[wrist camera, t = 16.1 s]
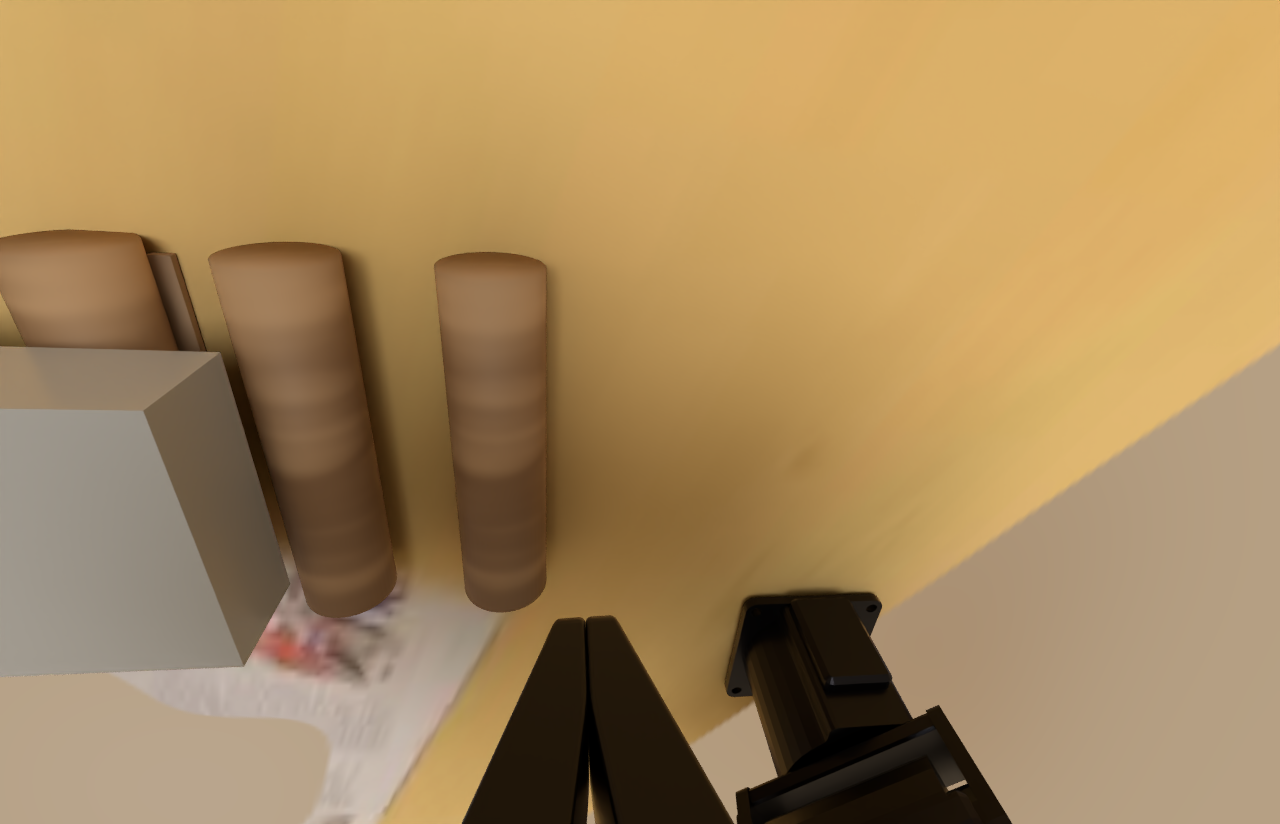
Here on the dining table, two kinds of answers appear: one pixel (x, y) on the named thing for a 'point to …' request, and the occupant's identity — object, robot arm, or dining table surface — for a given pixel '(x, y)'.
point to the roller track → (340, 424)
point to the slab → (128, 515)
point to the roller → (83, 291)
